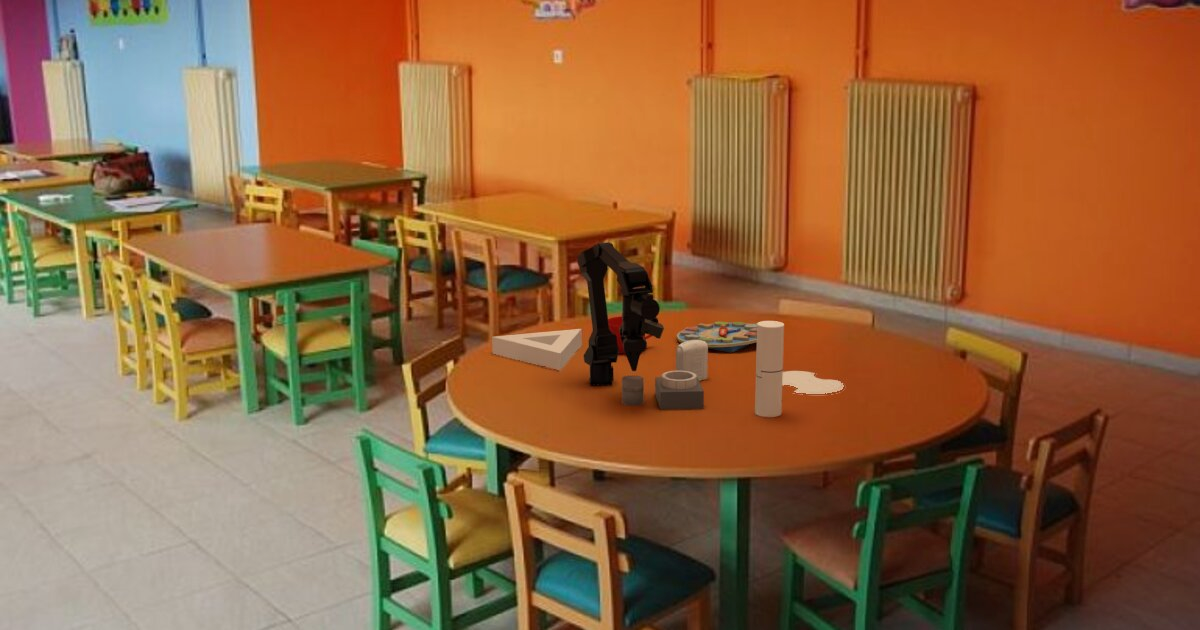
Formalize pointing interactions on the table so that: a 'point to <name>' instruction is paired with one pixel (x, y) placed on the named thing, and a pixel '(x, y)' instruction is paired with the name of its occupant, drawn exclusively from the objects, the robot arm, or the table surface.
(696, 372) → the white rounded device
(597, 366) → the robot arm
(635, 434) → the table surface
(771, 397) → the cylindrical container
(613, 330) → the ceramic cup
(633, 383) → the grey rounded block
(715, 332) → the shape sorting clock
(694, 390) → the gray ring-topped block
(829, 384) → the white puddle shape
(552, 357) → the triangle block
